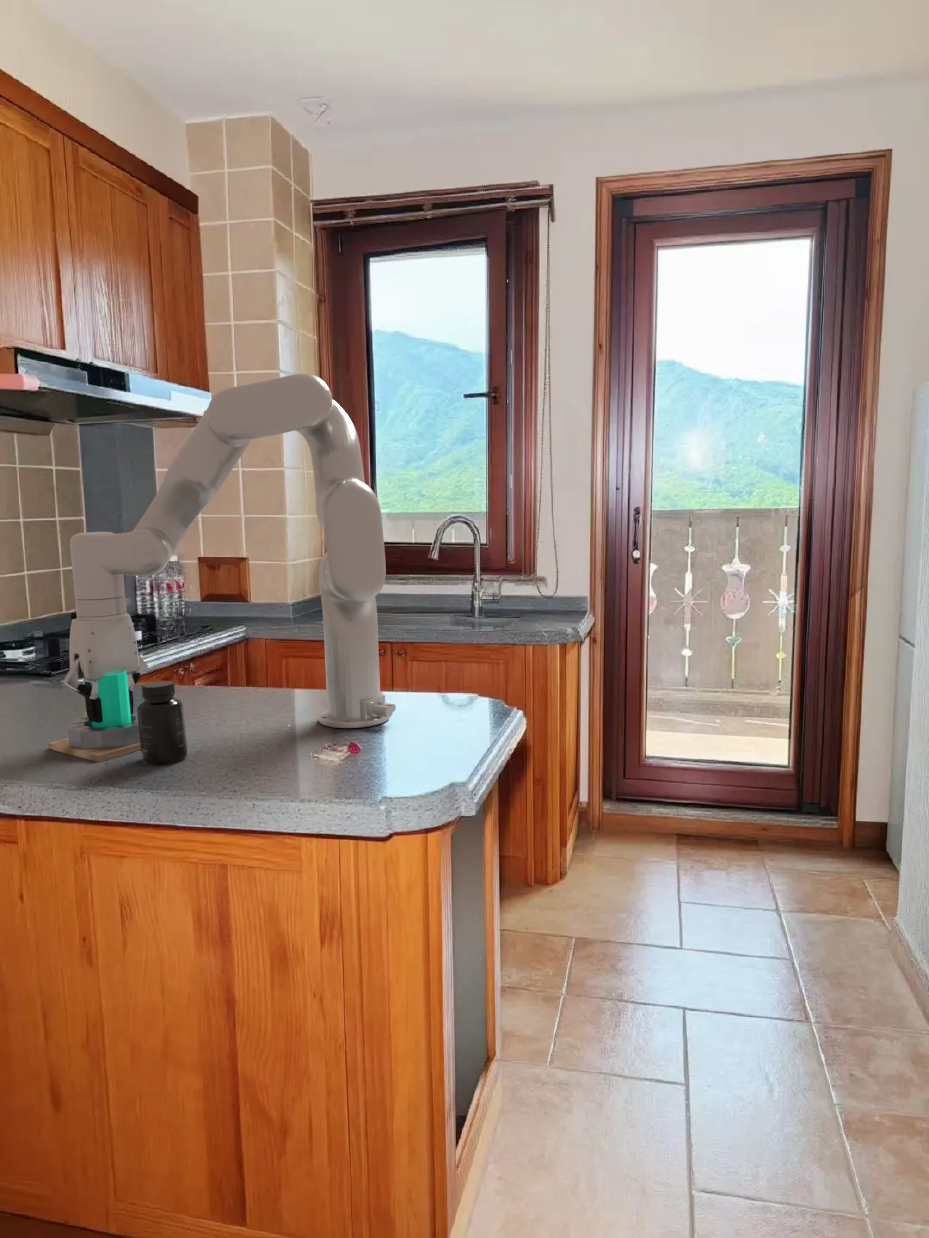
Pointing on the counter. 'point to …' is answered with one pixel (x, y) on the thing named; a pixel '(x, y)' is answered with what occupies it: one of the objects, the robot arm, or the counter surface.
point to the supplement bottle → (161, 724)
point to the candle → (114, 700)
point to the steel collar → (102, 734)
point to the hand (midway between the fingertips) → (111, 716)
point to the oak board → (92, 754)
